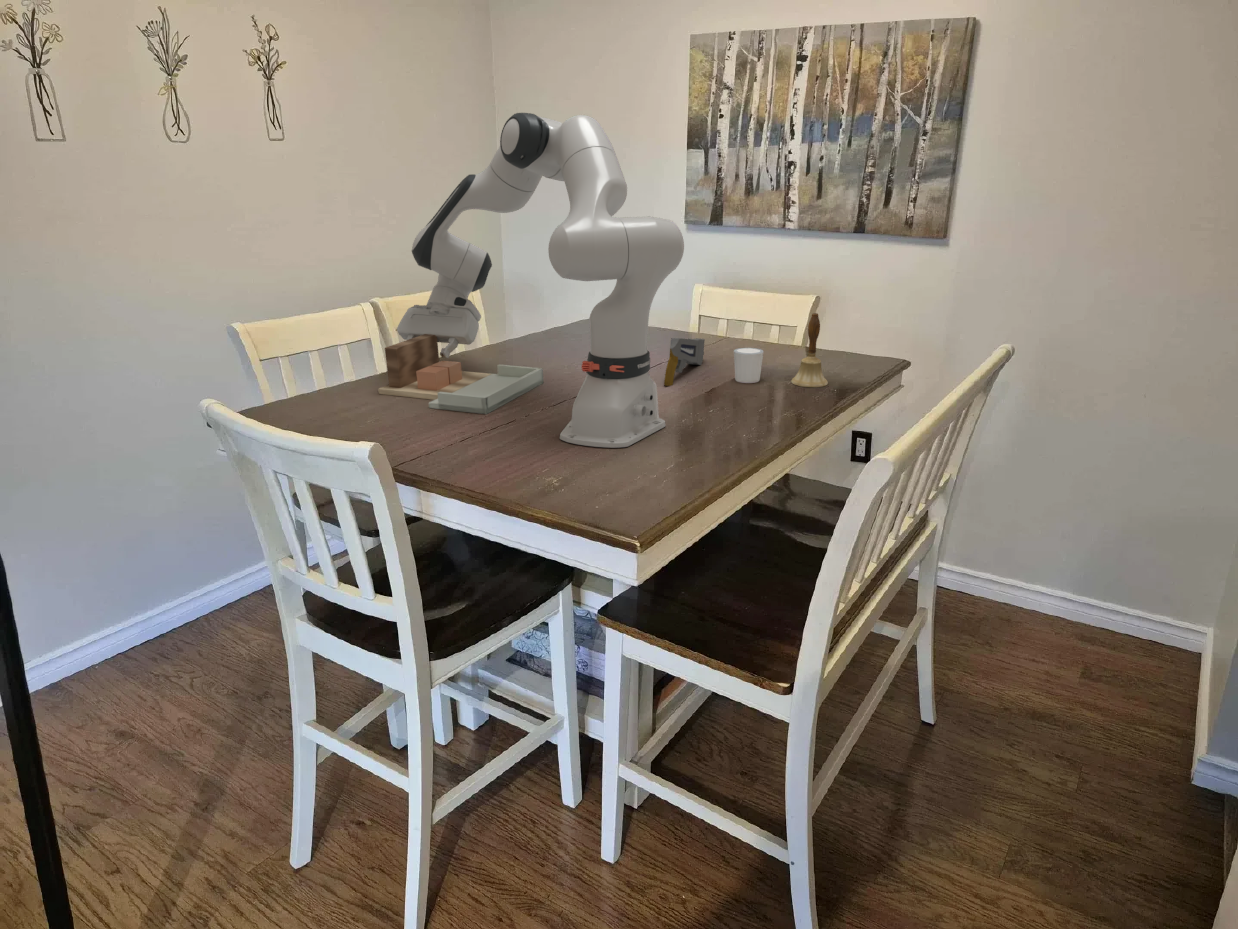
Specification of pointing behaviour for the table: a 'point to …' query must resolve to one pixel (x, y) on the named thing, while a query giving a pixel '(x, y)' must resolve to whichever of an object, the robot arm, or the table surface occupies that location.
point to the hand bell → (811, 360)
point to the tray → (491, 390)
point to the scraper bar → (410, 359)
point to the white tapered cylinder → (748, 364)
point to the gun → (683, 356)
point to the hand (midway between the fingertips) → (426, 355)
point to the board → (414, 392)
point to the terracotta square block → (451, 370)
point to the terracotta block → (432, 378)
